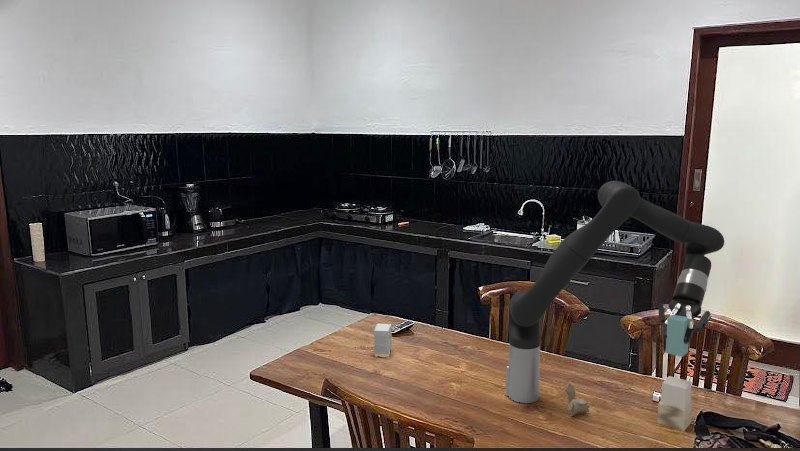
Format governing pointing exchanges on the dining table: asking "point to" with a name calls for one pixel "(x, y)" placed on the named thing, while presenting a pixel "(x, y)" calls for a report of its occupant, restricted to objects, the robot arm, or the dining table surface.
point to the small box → (382, 338)
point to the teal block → (676, 335)
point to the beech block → (675, 416)
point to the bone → (575, 402)
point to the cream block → (676, 392)
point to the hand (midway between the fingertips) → (675, 340)
